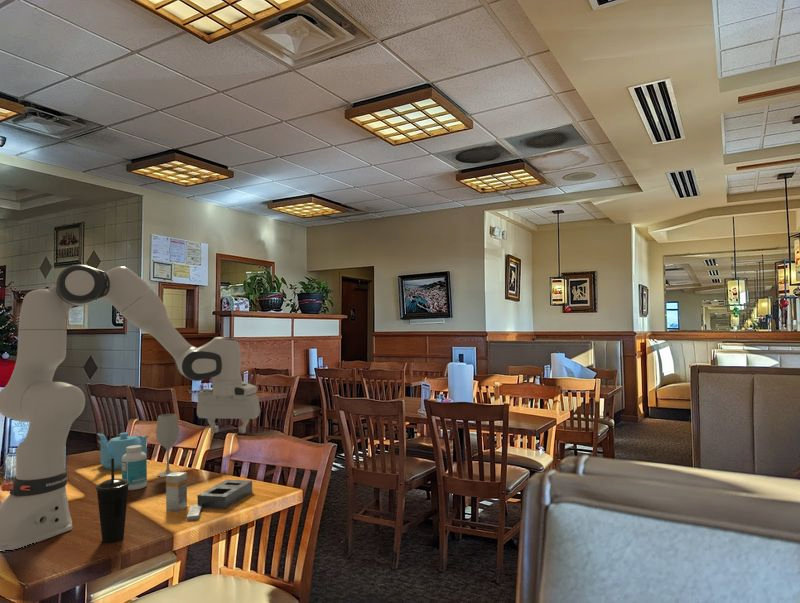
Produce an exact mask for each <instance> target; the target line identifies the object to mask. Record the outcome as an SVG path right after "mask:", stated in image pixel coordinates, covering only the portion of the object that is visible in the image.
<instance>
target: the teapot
mask: <svg viewBox="0 0 800 603" xmlns="http://www.w3.org/2000/svg"><path fill="white" fill-rule="evenodd" d="M97 436H99V438H100V440H97V442H98V443H99V445H100V453H99V457H100V465H102V467H103V468H104V469H105V470H111V459H114V471H115V470H117V471H119V470H122V456H123V455H125V454H126V453H127V452H126V447H128V446H133V445H141V446H142V450H141V452H144V453H145V454H146V459H147V458H148V456H147V454H148V447H147V440H148V438H149V436H150V435H146V436H143V435H140V434H138V435H129V432H120V433H119V436H116V437H112V438H110V439H109V441H108V440H107V437H106V436H105V434H103V433H99V432H98V433H97Z"/></svg>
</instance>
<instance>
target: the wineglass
mask: <svg viewBox="0 0 800 603" xmlns="http://www.w3.org/2000/svg"><path fill="white" fill-rule="evenodd" d="M179 436H180V426H179V421H178V416H177V414H176V413H166V414H165V413H164V414H160V415H158V417H157V422H156V429H155V437H156V441H157V443H159V444H160V445H161V446H162V447H164V449H165V450H166V469H165V470H164V471H161V472H158V473H157V474H156V477H158V476H160V477H159V478H166V475H169V474H171V473H173V472H179V471H177V470H171V468H170V448H172V447H173V445H174V444H175V443H176V442H177V441H178V440H179Z"/></svg>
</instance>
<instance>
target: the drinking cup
mask: <svg viewBox="0 0 800 603" xmlns="http://www.w3.org/2000/svg"><path fill="white" fill-rule="evenodd" d="M110 472H111V473H110V475H111V476H110V477H111V478H109V479H106V480H104V481H102V482H100V483H98V484H97V485H96V486H95V490H96V494H97V502H98V503H97V505H98V513H99V514H98V515H99V522H100V524H99V525H100V531H101V542H102V543H104V544H109V543H110V544H111V543H112V544H113V543H115V542H120V541H121V540H123V539H124V537H125V526H126V516H127V504H128V495H129V490H128V486H129V484H130V482H129V481H127V480H123V479H122V478H115V470H114V459H111V471H110Z"/></svg>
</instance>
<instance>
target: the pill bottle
mask: <svg viewBox="0 0 800 603" xmlns="http://www.w3.org/2000/svg"><path fill="white" fill-rule="evenodd" d="M141 450H142V446H141V445H133V446H128V447H126V452H127V453H126V454H125V455H123V456H122V469H121V479H123V480H127V481H129V482H130V484H129V486H128V491H135V490H141V489H143V488H145V487H146V486H147V485H148V479H147V478H148V472H147V470H148V469H147V468H148V467H147V466H148V465H147V464H148V463H147V458H146V454H145V453H144V452H141Z"/></svg>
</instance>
